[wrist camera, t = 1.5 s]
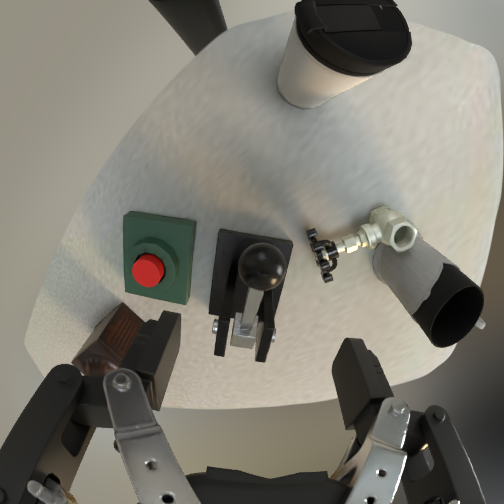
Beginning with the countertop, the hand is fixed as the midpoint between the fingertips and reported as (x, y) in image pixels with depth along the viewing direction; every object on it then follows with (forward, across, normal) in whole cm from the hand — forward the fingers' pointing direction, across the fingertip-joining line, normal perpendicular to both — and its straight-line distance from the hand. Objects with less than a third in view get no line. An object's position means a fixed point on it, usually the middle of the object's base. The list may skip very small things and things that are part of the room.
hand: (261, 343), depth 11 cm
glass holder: (+23, -23, +3) cm, 33 cm away
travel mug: (+23, -2, -16) cm, 28 cm away
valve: (+23, -12, 0) cm, 26 cm away
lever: (+11, 0, +4) cm, 12 cm away
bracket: (+23, 0, +9) cm, 25 cm away
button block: (+23, +12, +8) cm, 27 cm away
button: (+19, +12, +8) cm, 24 cm away
